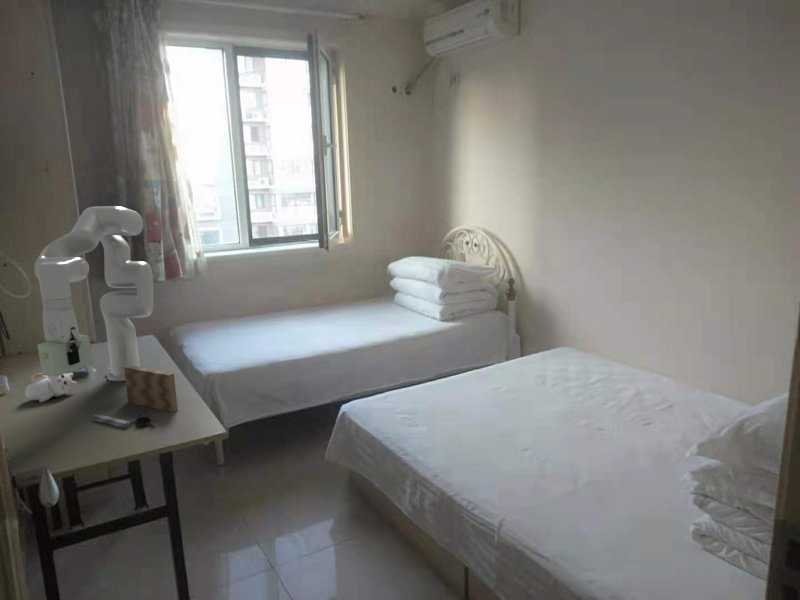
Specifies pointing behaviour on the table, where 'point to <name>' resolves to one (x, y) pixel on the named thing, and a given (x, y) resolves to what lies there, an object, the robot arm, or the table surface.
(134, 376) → the brown piece
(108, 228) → the robot arm
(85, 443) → the table surface
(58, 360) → the pale green block
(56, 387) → the cat figurine
